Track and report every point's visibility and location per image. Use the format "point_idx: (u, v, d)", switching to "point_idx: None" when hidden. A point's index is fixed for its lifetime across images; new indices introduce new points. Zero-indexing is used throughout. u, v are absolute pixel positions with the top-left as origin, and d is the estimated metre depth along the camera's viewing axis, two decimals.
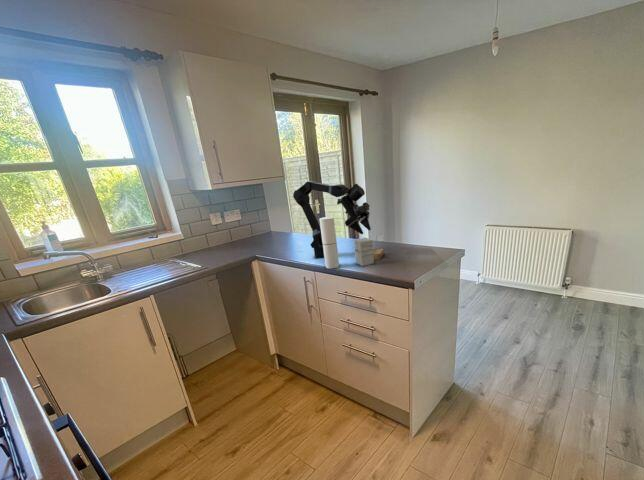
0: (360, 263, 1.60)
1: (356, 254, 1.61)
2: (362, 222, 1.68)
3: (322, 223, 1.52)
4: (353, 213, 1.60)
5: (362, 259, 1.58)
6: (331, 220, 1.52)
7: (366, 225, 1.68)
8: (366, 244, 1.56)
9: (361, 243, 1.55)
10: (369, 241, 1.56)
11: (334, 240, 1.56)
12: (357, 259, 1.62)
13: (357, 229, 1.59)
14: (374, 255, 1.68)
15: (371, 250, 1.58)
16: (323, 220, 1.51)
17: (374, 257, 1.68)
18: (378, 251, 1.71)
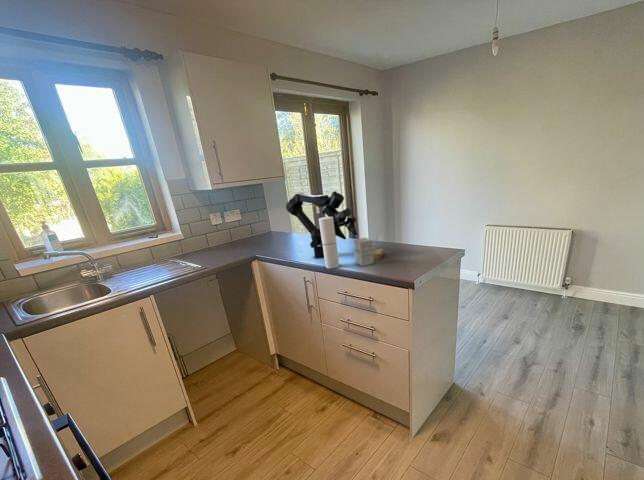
0: (360, 263, 1.60)
1: (356, 254, 1.61)
2: (349, 228, 1.68)
3: (321, 223, 1.52)
4: (335, 220, 1.62)
5: (362, 259, 1.58)
6: (330, 220, 1.52)
7: (353, 231, 1.67)
8: (366, 244, 1.56)
9: (361, 243, 1.55)
10: (369, 241, 1.56)
11: (334, 240, 1.56)
12: (357, 259, 1.62)
13: (339, 235, 1.60)
14: (374, 255, 1.68)
15: (371, 250, 1.58)
16: (322, 220, 1.51)
17: (374, 257, 1.68)
18: (378, 251, 1.71)
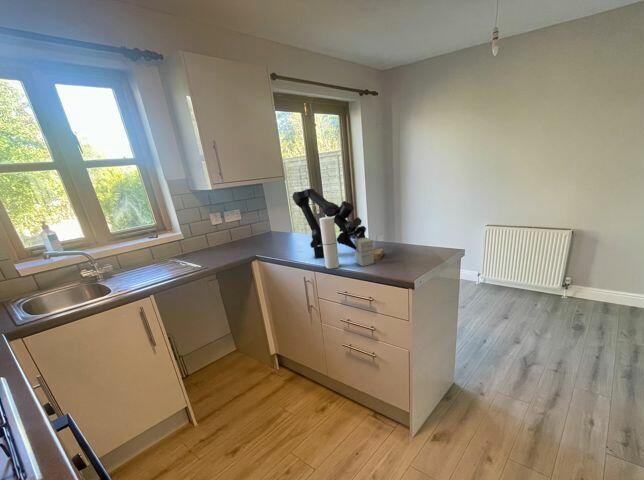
0: (360, 262, 1.60)
1: (356, 254, 1.61)
2: (359, 238, 1.66)
3: (322, 223, 1.52)
4: (345, 230, 1.60)
5: (362, 259, 1.58)
6: (331, 220, 1.52)
7: None
8: (367, 244, 1.56)
9: (361, 243, 1.54)
10: (369, 241, 1.56)
11: (334, 240, 1.56)
12: (357, 259, 1.62)
13: (350, 245, 1.58)
14: (374, 255, 1.68)
15: (371, 250, 1.58)
16: (323, 220, 1.51)
17: (374, 257, 1.68)
18: (378, 251, 1.71)
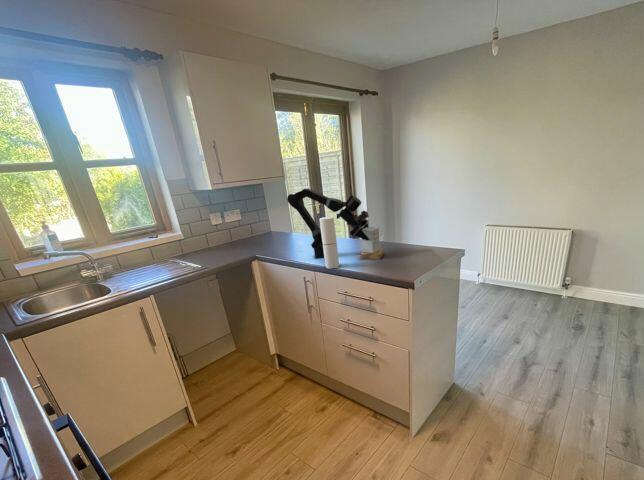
0: (370, 250, 1.69)
1: (364, 243, 1.69)
2: None
3: (322, 223, 1.52)
4: (355, 223, 1.66)
5: (373, 246, 1.68)
6: (331, 220, 1.52)
7: None
8: (375, 231, 1.67)
9: (372, 231, 1.64)
10: (377, 229, 1.68)
11: (334, 240, 1.56)
12: (365, 248, 1.70)
13: (362, 236, 1.65)
14: (374, 255, 1.68)
15: (378, 237, 1.70)
16: (323, 220, 1.51)
17: (374, 257, 1.68)
18: (378, 251, 1.71)
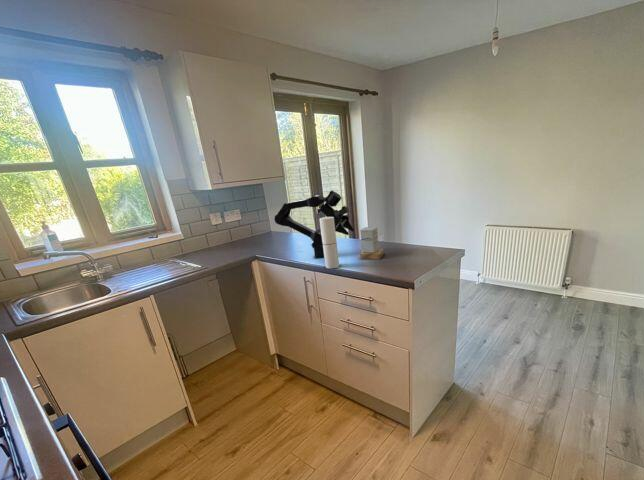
0: (370, 250, 1.69)
1: (364, 243, 1.69)
2: (344, 225, 1.77)
3: (322, 223, 1.52)
4: (335, 218, 1.69)
5: (373, 246, 1.68)
6: (331, 220, 1.52)
7: (349, 227, 1.77)
8: (375, 231, 1.68)
9: (373, 231, 1.65)
10: (376, 228, 1.69)
11: (334, 240, 1.56)
12: (365, 248, 1.70)
13: (342, 231, 1.68)
14: (374, 255, 1.68)
15: (377, 237, 1.71)
16: (323, 220, 1.51)
17: (374, 257, 1.68)
18: (378, 251, 1.71)
